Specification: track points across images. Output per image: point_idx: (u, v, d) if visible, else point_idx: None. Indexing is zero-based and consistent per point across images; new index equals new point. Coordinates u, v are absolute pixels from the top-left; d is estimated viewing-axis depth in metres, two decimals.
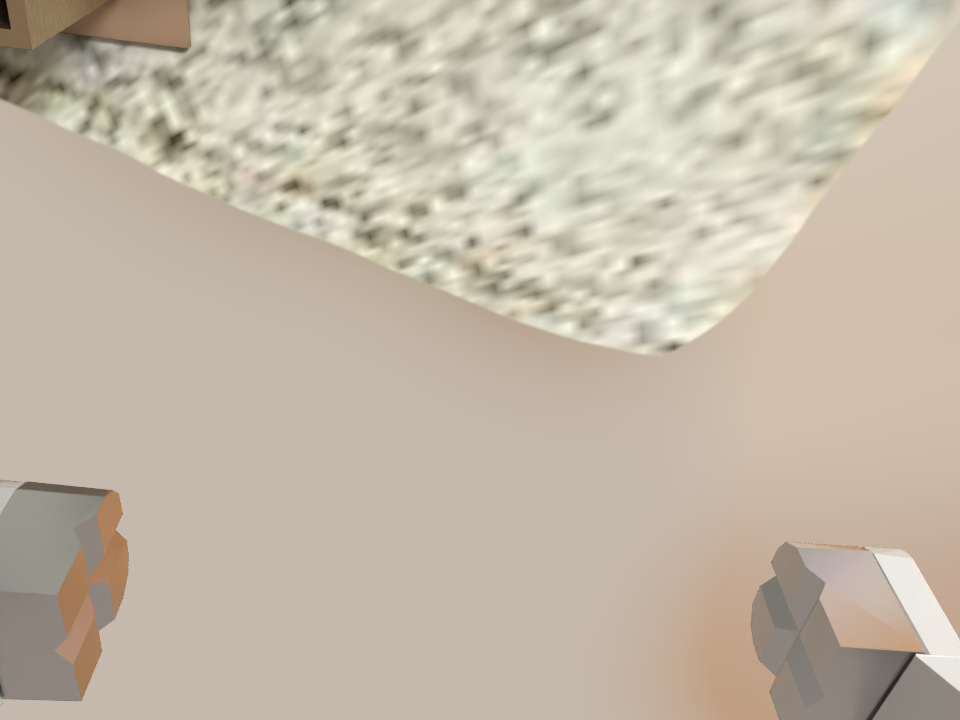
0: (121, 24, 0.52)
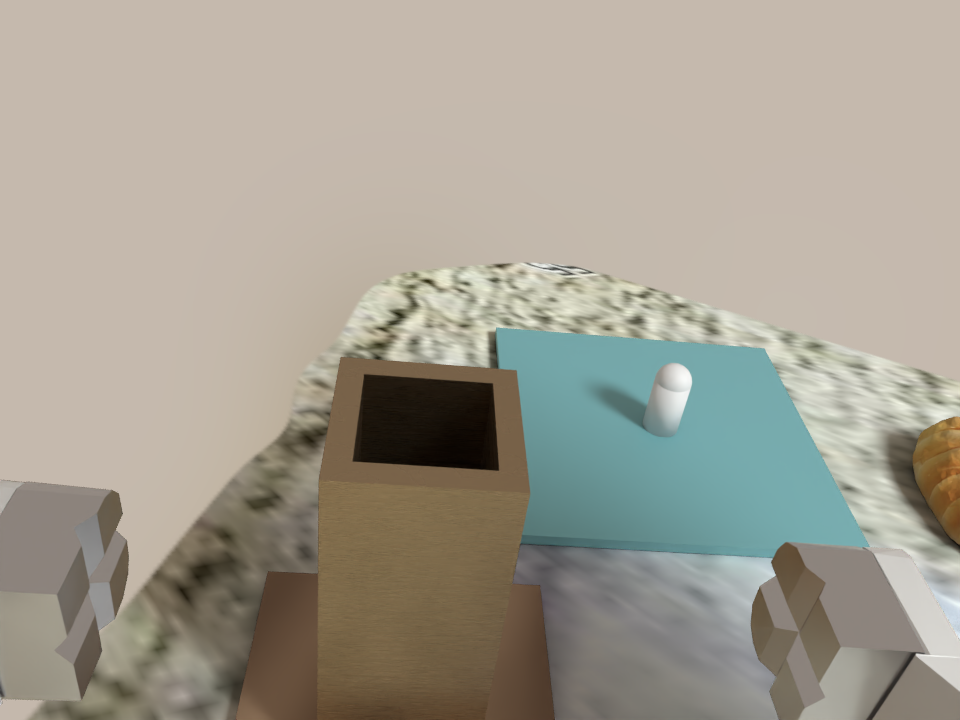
0: None
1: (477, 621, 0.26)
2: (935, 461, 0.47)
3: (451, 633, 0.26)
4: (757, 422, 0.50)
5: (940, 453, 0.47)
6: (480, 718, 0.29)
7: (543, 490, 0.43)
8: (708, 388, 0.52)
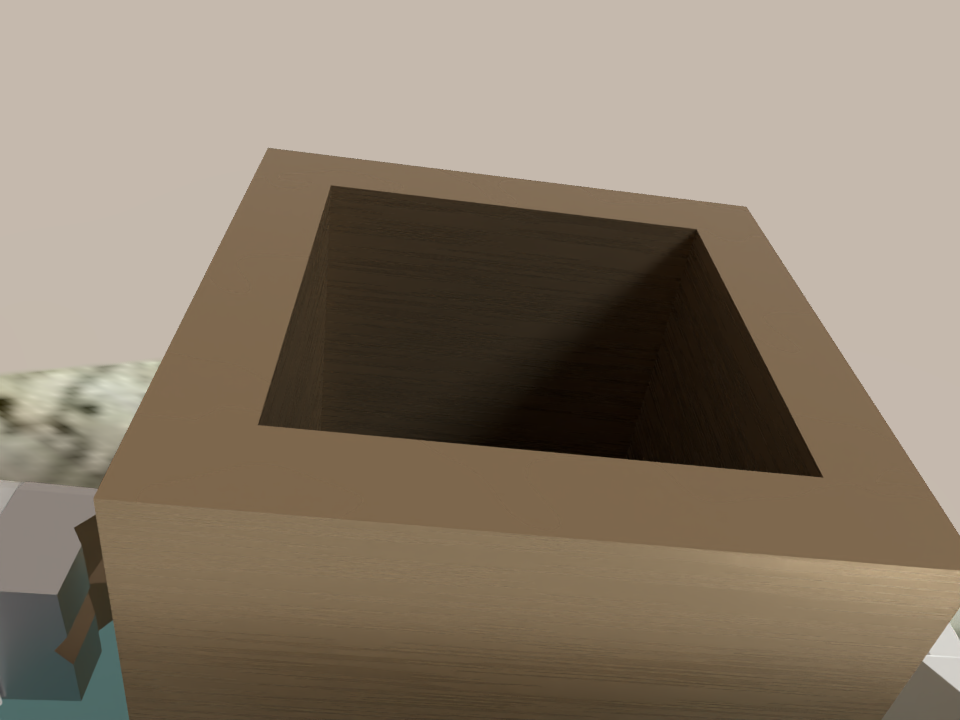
0: None
1: None
2: None
3: None
4: None
5: None
6: None
7: None
8: None
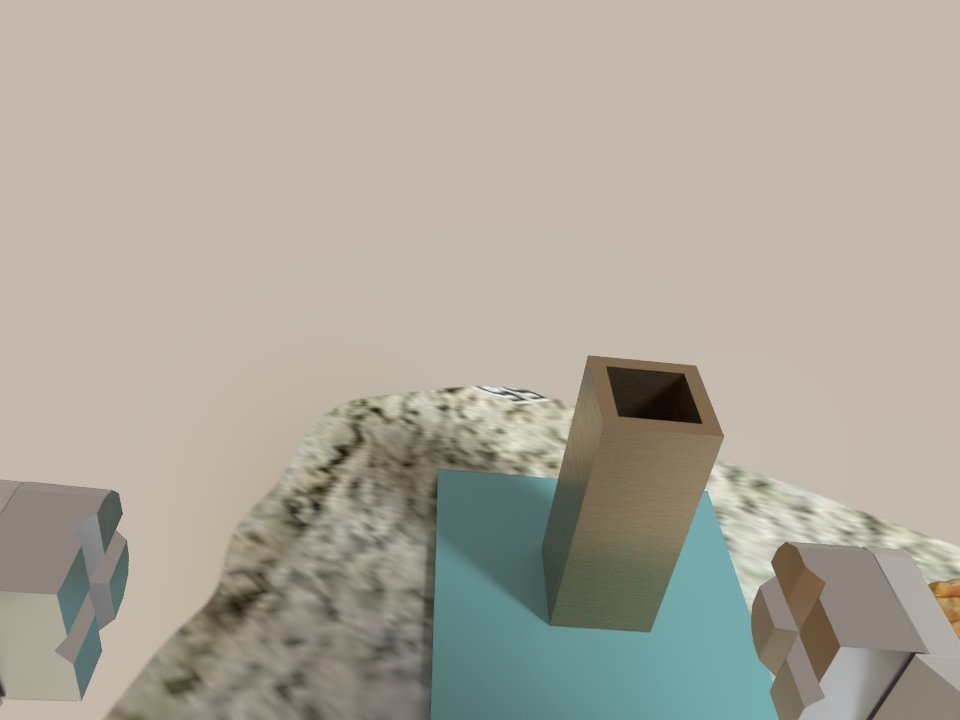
0: None
1: (676, 520, 0.42)
2: None
3: (658, 528, 0.42)
4: (692, 582, 0.50)
5: None
6: (663, 590, 0.45)
7: (466, 670, 0.43)
8: None
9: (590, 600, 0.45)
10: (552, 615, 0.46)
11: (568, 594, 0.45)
